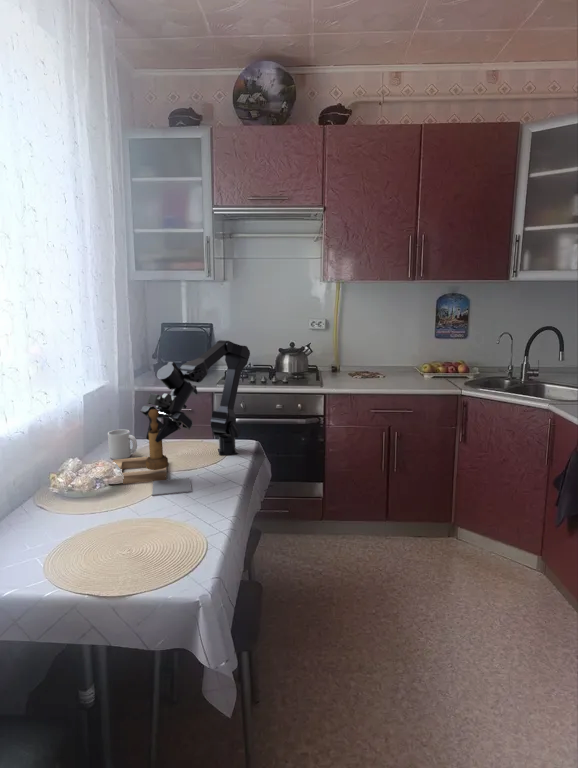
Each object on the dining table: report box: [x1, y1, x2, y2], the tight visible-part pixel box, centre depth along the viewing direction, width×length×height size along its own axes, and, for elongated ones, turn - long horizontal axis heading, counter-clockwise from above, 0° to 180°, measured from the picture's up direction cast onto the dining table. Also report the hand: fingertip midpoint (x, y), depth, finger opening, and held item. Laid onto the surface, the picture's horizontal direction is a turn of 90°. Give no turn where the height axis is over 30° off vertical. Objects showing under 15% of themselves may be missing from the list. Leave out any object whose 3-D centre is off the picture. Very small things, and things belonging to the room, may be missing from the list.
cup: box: [107, 429, 138, 460], centre depth 183 cm, size 7×10×9 cm
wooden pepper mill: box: [145, 408, 169, 470], centre depth 157 cm, size 7×6×18 cm
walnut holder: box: [112, 454, 168, 485], centre depth 167 cm, size 17×17×2 cm
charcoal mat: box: [151, 477, 192, 497], centre depth 155 cm, size 11×11×1 cm
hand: (151, 440), depth 156 cm, fingers closed on wooden pepper mill, 4 cm apart
